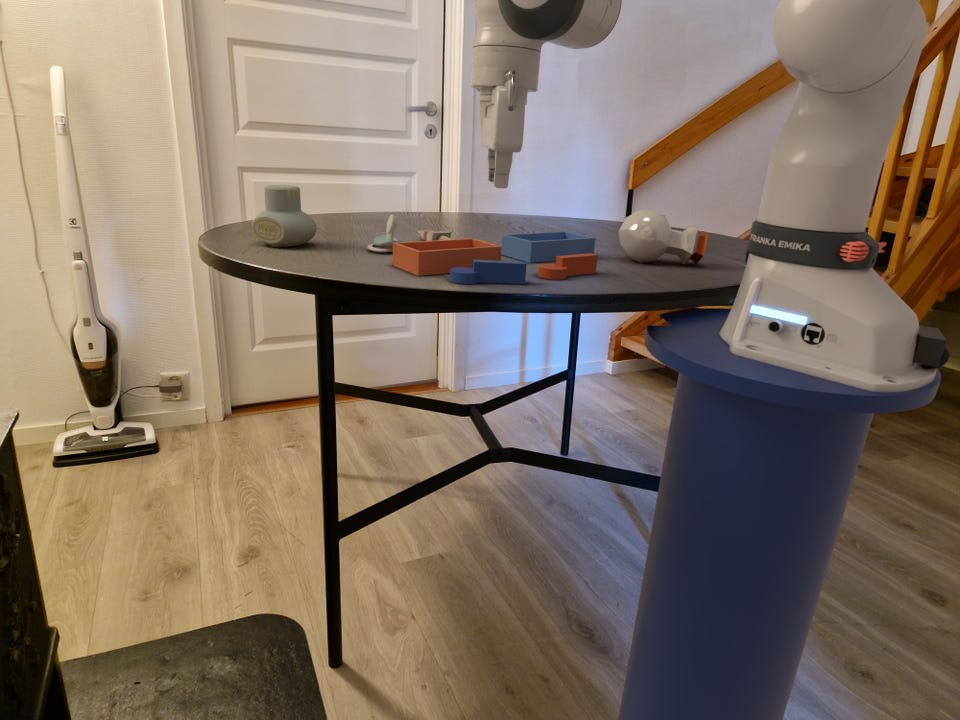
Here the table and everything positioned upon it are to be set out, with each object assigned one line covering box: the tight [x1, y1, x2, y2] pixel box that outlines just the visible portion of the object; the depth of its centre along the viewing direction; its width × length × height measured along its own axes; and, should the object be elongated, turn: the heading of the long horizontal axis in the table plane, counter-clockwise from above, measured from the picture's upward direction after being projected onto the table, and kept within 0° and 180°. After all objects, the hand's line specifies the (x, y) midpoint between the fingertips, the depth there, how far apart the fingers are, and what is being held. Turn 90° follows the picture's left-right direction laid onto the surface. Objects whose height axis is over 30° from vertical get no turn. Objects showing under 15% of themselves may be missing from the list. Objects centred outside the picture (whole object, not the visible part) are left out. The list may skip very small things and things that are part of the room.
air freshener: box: [250, 184, 318, 248], centre depth 108 cm, size 11×8×10 cm
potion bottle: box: [618, 208, 709, 266], centre depth 111 cm, size 9×10×15 cm
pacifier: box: [367, 214, 403, 253], centre depth 108 cm, size 7×6×6 cm
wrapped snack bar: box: [415, 229, 452, 241], centre depth 115 cm, size 4×3×20 cm
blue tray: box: [501, 230, 596, 264], centre depth 112 cm, size 8×15×4 cm, turn 125°
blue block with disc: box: [449, 260, 527, 285], centre depth 89 cm, size 11×4×3 cm, turn 94°
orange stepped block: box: [537, 253, 599, 281], centre depth 97 cm, size 11×4×3 cm, turn 125°
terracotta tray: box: [392, 238, 502, 277], centre depth 98 cm, size 8×15×4 cm, turn 125°
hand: (497, 184), depth 85 cm, fingers open, 8 cm apart
